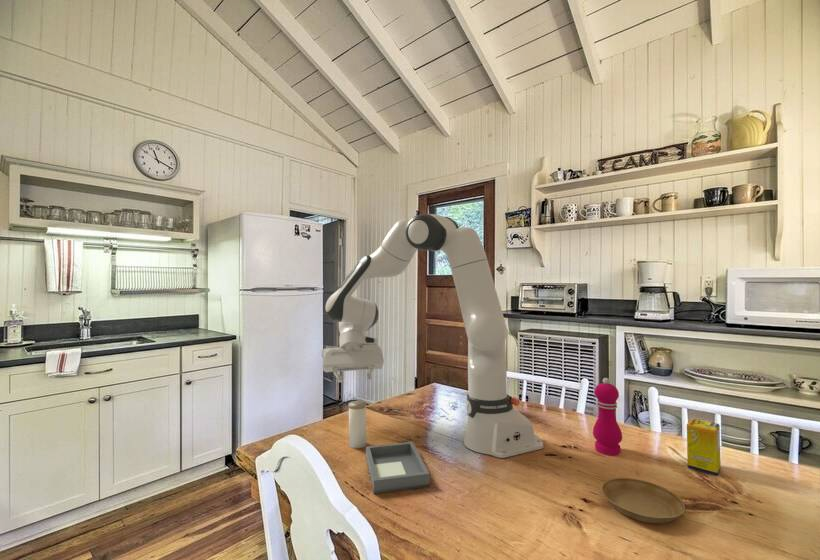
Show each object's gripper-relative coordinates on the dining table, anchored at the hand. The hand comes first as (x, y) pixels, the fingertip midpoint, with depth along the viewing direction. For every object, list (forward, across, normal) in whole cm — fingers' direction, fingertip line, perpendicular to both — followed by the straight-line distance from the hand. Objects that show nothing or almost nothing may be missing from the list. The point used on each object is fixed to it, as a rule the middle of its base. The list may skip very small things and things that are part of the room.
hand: (354, 380), depth 122 cm
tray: (+32, +8, -10) cm, 35 cm away
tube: (+20, 0, +3) cm, 20 cm away
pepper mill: (+34, +67, -12) cm, 76 cm away
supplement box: (+44, +83, -22) cm, 97 cm away
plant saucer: (+52, +55, -28) cm, 81 cm away
